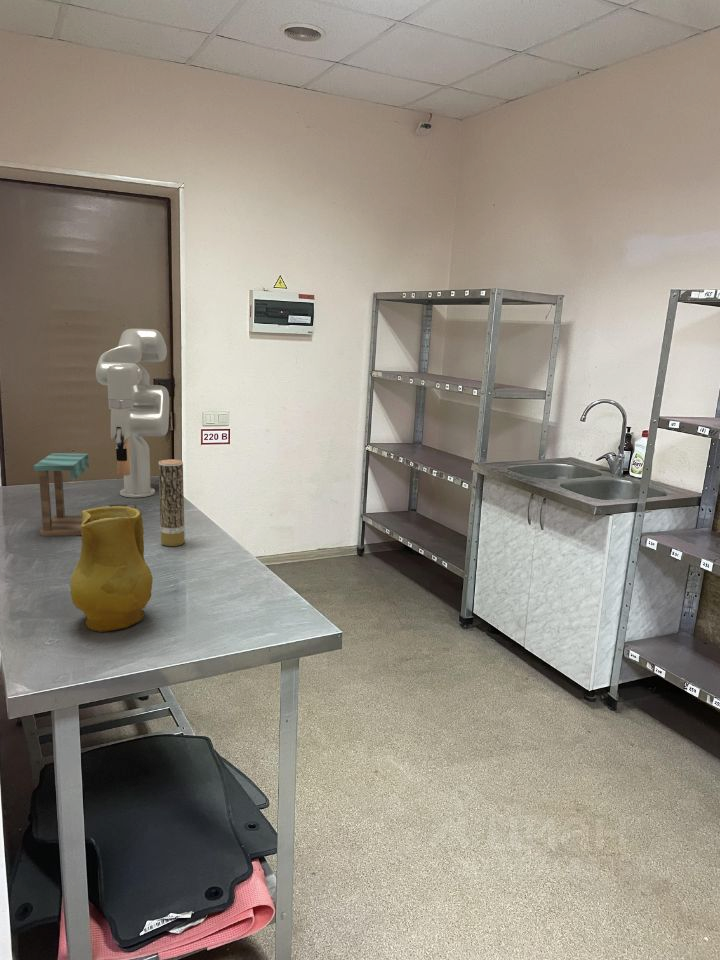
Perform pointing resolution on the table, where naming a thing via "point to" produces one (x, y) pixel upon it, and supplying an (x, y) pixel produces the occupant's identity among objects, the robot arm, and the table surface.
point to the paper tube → (171, 502)
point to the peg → (124, 462)
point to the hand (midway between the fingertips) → (123, 458)
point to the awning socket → (61, 493)
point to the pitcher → (111, 569)
